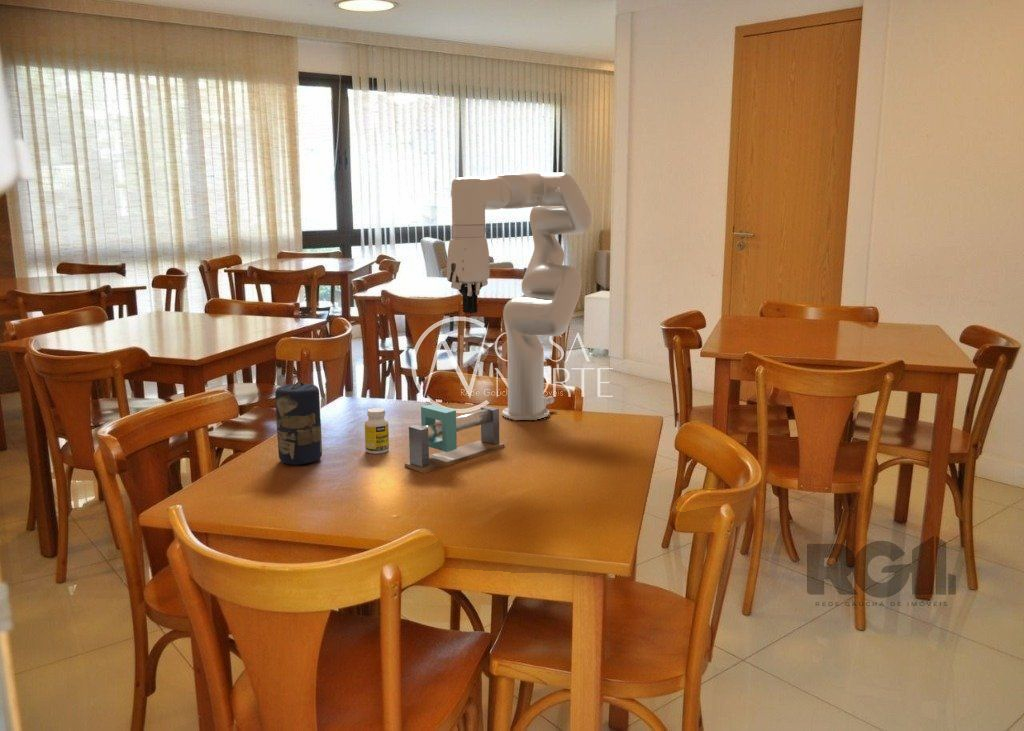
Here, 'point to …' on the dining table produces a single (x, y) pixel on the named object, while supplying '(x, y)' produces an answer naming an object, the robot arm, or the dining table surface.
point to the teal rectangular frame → (448, 426)
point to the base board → (456, 455)
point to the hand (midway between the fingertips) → (470, 312)
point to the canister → (298, 423)
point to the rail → (484, 417)
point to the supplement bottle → (376, 431)
